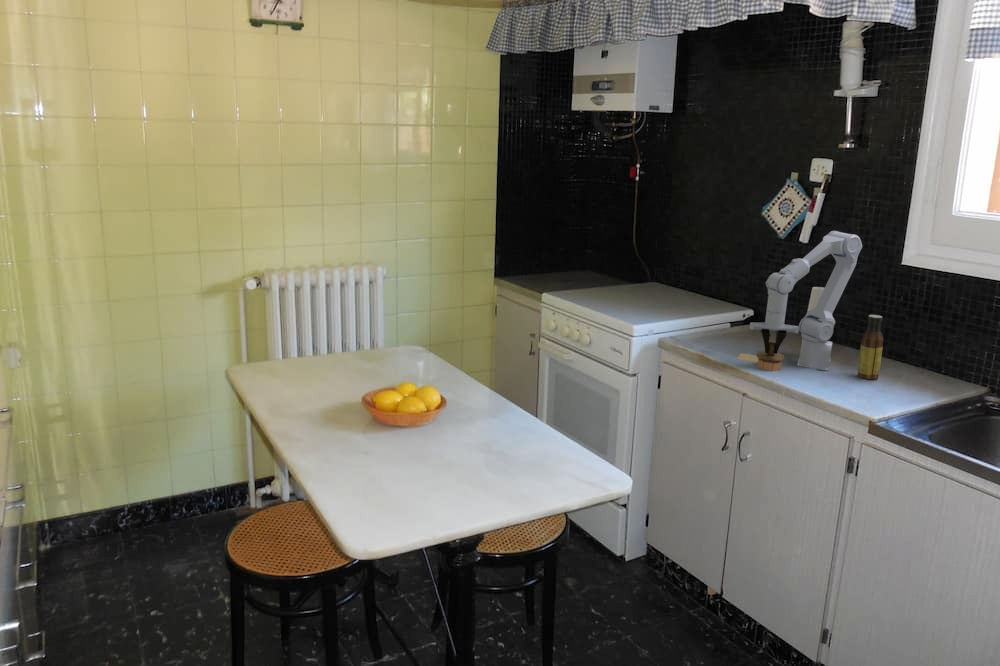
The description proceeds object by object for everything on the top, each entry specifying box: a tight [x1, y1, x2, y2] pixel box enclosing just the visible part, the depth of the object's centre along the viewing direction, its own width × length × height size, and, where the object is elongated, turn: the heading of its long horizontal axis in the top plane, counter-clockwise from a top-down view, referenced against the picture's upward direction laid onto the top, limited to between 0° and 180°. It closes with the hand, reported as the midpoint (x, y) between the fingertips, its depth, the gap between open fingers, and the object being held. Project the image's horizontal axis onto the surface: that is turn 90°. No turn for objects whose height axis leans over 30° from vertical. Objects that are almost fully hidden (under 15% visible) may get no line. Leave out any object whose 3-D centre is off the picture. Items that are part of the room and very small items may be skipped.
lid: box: [755, 341, 785, 362], centre depth 254 cm, size 8×8×5 cm
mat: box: [736, 352, 758, 363], centre depth 265 cm, size 9×8×1 cm
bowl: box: [756, 358, 783, 372], centre depth 255 cm, size 7×7×3 cm
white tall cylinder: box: [806, 286, 825, 321], centre depth 266 cm, size 7×7×24 cm
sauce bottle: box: [857, 314, 884, 381], centre depth 248 cm, size 6×6×20 cm
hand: (770, 352), depth 254 cm, fingers closed on lid, 2 cm apart
